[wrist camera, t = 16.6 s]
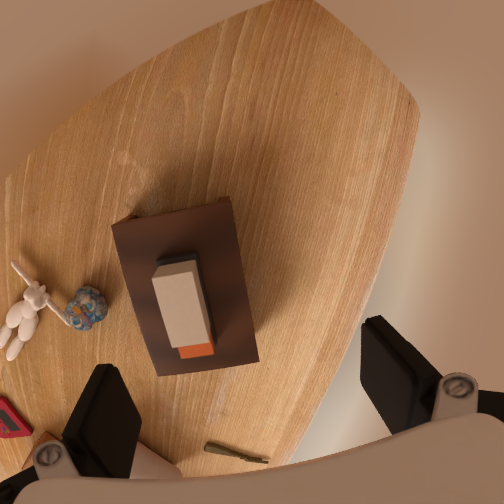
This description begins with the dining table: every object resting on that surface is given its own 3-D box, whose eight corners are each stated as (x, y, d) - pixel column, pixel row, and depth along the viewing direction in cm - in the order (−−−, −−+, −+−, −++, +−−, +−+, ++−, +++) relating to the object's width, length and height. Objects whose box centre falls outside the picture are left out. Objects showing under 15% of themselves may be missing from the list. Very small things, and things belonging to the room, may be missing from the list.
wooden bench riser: (127, 215, 34) (110, 225, 29) (229, 195, 35) (231, 201, 29) (164, 349, 39) (157, 376, 34) (254, 335, 40) (259, 362, 34)
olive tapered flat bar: (202, 447, 45) (202, 451, 44) (207, 441, 45) (207, 445, 44) (265, 463, 48) (265, 466, 47) (270, 457, 47) (271, 461, 46)
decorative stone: (89, 276, 34) (106, 313, 33) (101, 281, 38) (118, 315, 37) (50, 302, 33) (66, 338, 32) (65, 304, 37) (81, 337, 36)
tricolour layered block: (157, 257, 30) (147, 273, 26) (197, 250, 30) (193, 265, 26) (181, 345, 33) (177, 369, 28) (217, 339, 33) (217, 363, 28)
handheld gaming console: (-30, 407, 38) (1, 399, 38) (-27, 404, 40) (4, 395, 39) (-2, 440, 41) (32, 436, 41) (0, 436, 42) (35, 431, 42)
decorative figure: (-18, 325, 36) (21, 250, 34) (31, 376, 39) (80, 313, 37) (-29, 334, 32) (7, 257, 31) (22, 388, 35) (70, 324, 34)
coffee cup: (193, 459, 45) (126, 419, 39) (181, 506, 37) (106, 472, 32) (159, 459, 49) (98, 421, 43) (147, 499, 41) (79, 466, 35)
